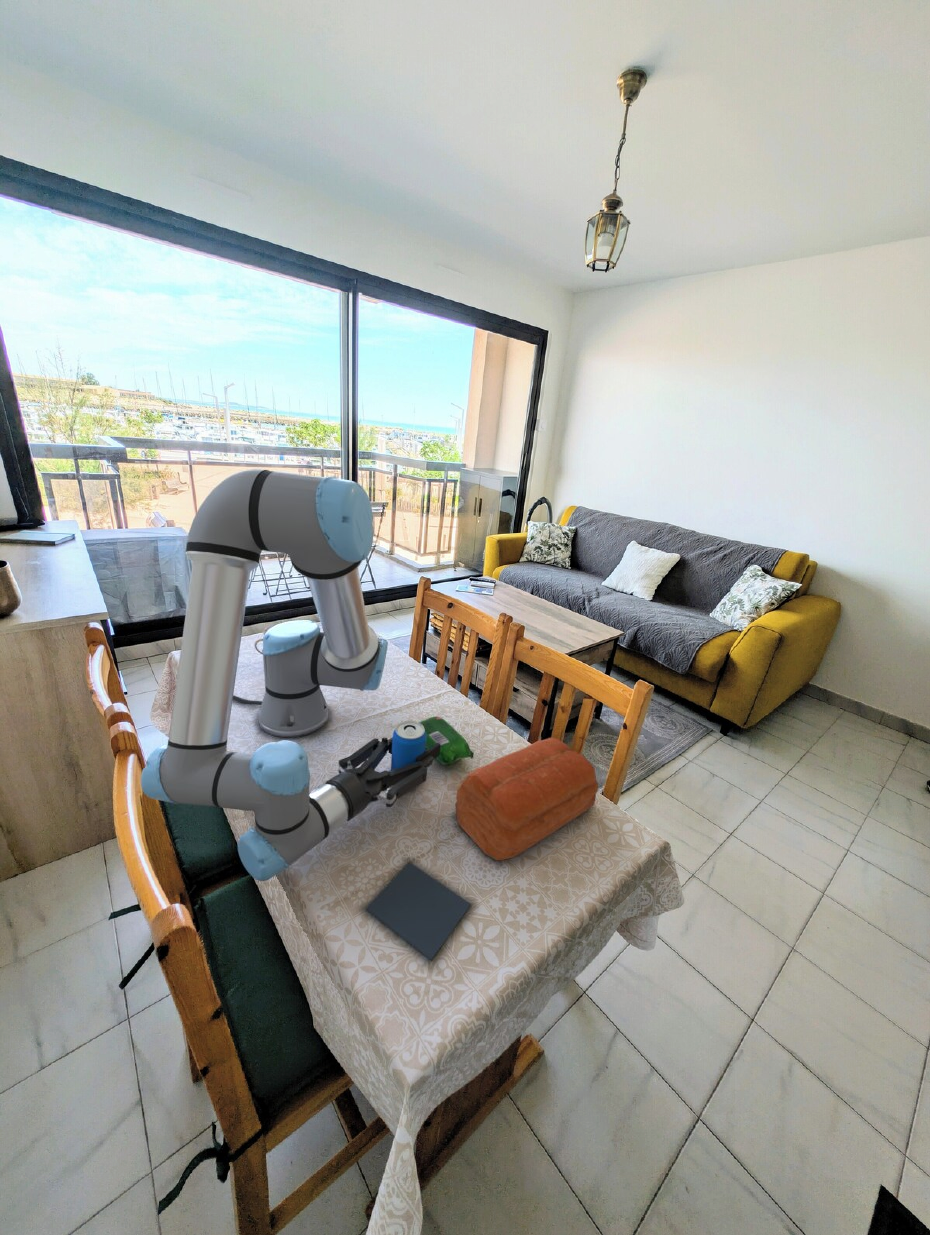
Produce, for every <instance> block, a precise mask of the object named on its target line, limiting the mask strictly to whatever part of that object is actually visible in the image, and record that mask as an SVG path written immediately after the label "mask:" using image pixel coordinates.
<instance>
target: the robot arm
mask: <svg viewBox="0 0 930 1235" xmlns="http://www.w3.org/2000/svg"><path fill="white" fill-rule="evenodd" d="M192 519H193V520H192V522H191V526H190V528H189V531H188V534H187V541H186V548H185V556H186V557H187V558H188V559H189V561H190V562H191V564H192V565H191V572H190V580H189V587H188V594H187V602H186V609H185V616H184V624H183V632H182V638H181V646H180V652H179V653H180V654H179V659H178V660H179V661H178V668H177V675H176V682H175V689H174V697H173V704H172V713H171V720H170V727H169V733H168V734H169V735H168V739H167V744H165V745H161V746H159V747H157V748H155V749H154V750H153V751H152V752H151V753H150V754H149V756H148V757H147V759H146V762H145V763H146V764H145V767H144V768H143V769H142V770H141V774H140V787H141V790H142V792H143V793H144V795H145V796H146V797H148V798H149V799H152V800H157V801H162V802H167V803H170V804H171V803H172V804H175V805H181V804H184V805H195V806H205V807H216V808H221V809H231V810H237V811H238V810H239V811H245V812H246V811H248V812H253V813H254V814H253V815H254V825H255V826H253V827H250V828H249V829H248V830H247V831H245V832H244V833H243V834H242V835H241V836H240V837H239V840H238V841H237V852H238V856H239V858H240V861H241V863H242V865H243V867H244V869H245V871H247V873H248V874H249V875H250V876H251V877H252V878H253V879H255V880H256V881H258V882H265V881H269V880H271V879H272V878H274V877H275V876H276V875H278V874H280V873H281V872H283V871H284V870H286V869H289V868H290V866H292V865H293V864H294V863H295V862H296V861H298V860H299V859H300V858H302V857H304V856H305V855H306V854H307V853H309V852H310V851H311V850H312V849H314V848H315V847H316V846H318V845H319V844H321V842H323V841H324V840H325V839H327V838H328V837H330V836H331V835H332V834H333V833H335V832H336V831H338V830H339V829H340V828H342V827H343V826H345V825H346V824H347V822H350V821H351V820H353V819H354V818H355V817H356V816H358V815H359V814H361V813H362V812H363V811H364V810H365V809H366V808H367V807H368V805H370V804H371V803H374V802H377V801H378V800H379V801H382V802H384V803H385V806H386V807H387V808H392V807H393V806H394V805H395V804H396V802H397V801H398V800H400V799H401V798H402V797H404V796H405V795H407V794H409V793H410V792H412V791H413V790H415V789H416V788H418V787H419V786H421V785H422V784H424V783H425V782H426V781H427V775H428V768H429V767H430V766H432V765H433V763H434V760H435V759H436V757H438V756H439V755H440V746H441V744H439V743H436V744H435V745H434V746H432V747H431V748H429V749H428V750H427V749H426V750H425V752H424V753H422V754H421V755H420V756H418V757H417V758H416V762H415V763H412V764H409V765H406V766H403V767H400V768H397V769H395V770H392V771H391V770H389V771H388V770H383V771H380V772H379V771H377V770H376V768H377V767H378V766H379V764H380V763H381V762H382V760H383V759H384V757H385V756H386V755H387V754H390V755H392V741H393V736H392V737H390V738H387V737H382V738H381V740H379V738H377V737H375V738H373V739H371V740H370V741H368V742H367V743H366V744H364V745H363V746H361V747H360V748H358V749H357V750H356V751H354V752H353V753H352V754H350V755H349V756H346V757H344V758H341V759H339V760H338V774H336V775H335V776H333V777H331V778H330V779H328V780H326V781H325V783H322V784H320V785H318V786H317V787H315V788H314V789H312V790H311V791H310V781H311V772H310V768H309V760H308V759H309V758H308V754H307V751H306V749H305V748H304V747H303V746H302V745H301V744H300V743H298V742H296V741H294V740H288V739H280V740H279V741H277V742H274V741H270V742H267V743H265V744H262V745H261V746H259V747H258V748H257V749H256V750H255V752H254V753H243V752H235V751H227V748H228V736H229V735H228V734H229V728H230V721H231V715H232V706H233V700H234V701H236V702H239V703H241V704H246V705H255V706H260V707H259V708H258V709H259V710H258V713H257V714H258V715H257V720H258V726H259V728H260V729H261V730H262V731H263V732H264V733H267V734H268V735H271V736H274V737H279V738H297V737H301V736H306V735H309V734H312V733H314V732H316V731H318V730H320V728H322V727H323V726H324V725H325V724H326V722H327V721H328V719H329V707H328V704H327V702H326V698H325V696H324V693H323V692H322V689H321V686H324V687H325V686H326V687H333V688H341V689H342V688H343V689H351V690H359V691H362V692H363V691H376V690H378V689H379V688H380V686H381V682H382V679H383V674H384V670H385V664H386V658H387V653H388V646H389V643H388V642H389V641H388V640H387V639H385V638H382V637H378V635H377V633H376V632H375V630H374V629H373V628H372V627H371V626H370V625H369V623H368V617H367V612H366V606H365V600H364V595H363V588H362V583H361V576H360V571H359V567H360V566H361V564H362V563H363V561H365V560H366V559H367V558H368V557H369V555H370V553H371V551H372V547H373V542H374V531H375V530H374V524H373V523H374V513H373V508H372V504H371V500H370V498H369V495H368V493H367V491H366V489H365V488H364V487H363V486H362V484H359V483H358V482H356V481H353V480H349V479H343V478H339V477H338V476H332V475H331V476H318V475H309V474H300V473H292V472H284V471H274V470H269V469H262V468H252V469H246V470H241V471H239V472H237V473H234V474H232V475H230V476H228V477H226V478H225V479H224V480H222V481H221V482H219V484H217V485H216V486H215V487H214V488H213V489H211V491H210V492H209V494H208V495H207V496H206V497H205V499H204V500H203V502H202V503H201V504H200V506H199V508H198V510H197V511H196V513H195V516H194V518H192ZM262 552H270V553H279V554H286V555H288V557H289V561H290V563H291V565H292V567H293V568H294V570H295V571H296V573H298V574H300V575H301V576H302V577H305V578H306V581H307V583H308V587H309V590H310V594H311V597H312V599H313V603H314V606H315V609H316V612H317V615H318V618H319V622H320V625H321V627H320V625H319V624H318V623H317V622H315V621H313V620H307V619H298V620H297V619H296V620H290V621H284V622H281V623H277V624H278V625H277V624H275V625H276V626H274V627H272V628H270V629H269V630H268V631H267V632H266V633H265V635H264V634H263V638H262V639H263V641H262V650H261V652H262V654H263V655H262V654H261V655H262V661H263V674H264V676H263V677H264V695H263V698H262V700H250V699H246V698H242V697H239V696H236V695H234V693H235V685H236V678H237V670H238V663H239V658H240V657H239V656H240V650H241V641H242V636H243V627H244V622H245V621H244V620H245V614H246V607H247V600H248V592H249V585H250V578H251V573H252V572H253V571H254V570H255V569H256V568H258V567H259V566H260V559H261V554H262ZM321 629H322V631H321Z"/></svg>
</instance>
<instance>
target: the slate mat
mask: <svg viewBox="0 0 930 1235" xmlns="http://www.w3.org/2000/svg"><path fill="white" fill-rule="evenodd" d="M471 905H472V904H471V902H469V901H468V900H466V899H464V898H463V897H462V896H460V895H459V894H457V893H456V892H454V891H453V890H451V889H450V888H448V887H447V886H446V885H444V884H443V883H441V882H439V881H438V880H437V879H435V878H434V877H432V876H431V875H430V874H428V873H426V872H425V871H423V870H422V869H421V868H419V867H417V865H415V864H413V863H411V862H410V861H409V862H408V863H406V865H405V866H404V867H403V868H402V869H401V870H400V871H399V872H398V873H397V874H396V875H395V876H394V877H393V878H392V879H391V881H390V882H389V883H388V884H387V885H386V886H385V887H384V888H383V889H382V890H381V891H380V892H379V893H378V894H377V895H376V896H375V897H374V898H373V899H372V900H371V902H370V903H368V905H367V906H366V907H365V911H366V912H368V913H369V914H370V915H372V916H373V917H374V918H376V919H377V920H378V921H379V922H380V923H382V924H383V925H385V926H386V927H387V928H388V929H389V930H391V931H392V932H393V933H395V934H396V935H397V936H398V937H399V938H401V939H402V940H404V941H405V942H406V943H407V944H408V945H410V946H411V947H413V949H415V950H416V951H418V952H419V954H421V955H423V957H425V958H426V959H428V960H429V961H430V962H433V960H434V958H435V957H436V956H437V954H438V953H439V951H440V950H441V948H442V947H443V945H444V944H446V941H447V940H448V938H449V937H450V936H451V935H452V933H453V932H454V930H455V929H456V927H457V926H458V924H459V923H460V921H461V920H462V919H463V918H464V916H465V915H466V914H467V912H468V911H469V909H470V908H471V907H472V906H471Z"/></svg>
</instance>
